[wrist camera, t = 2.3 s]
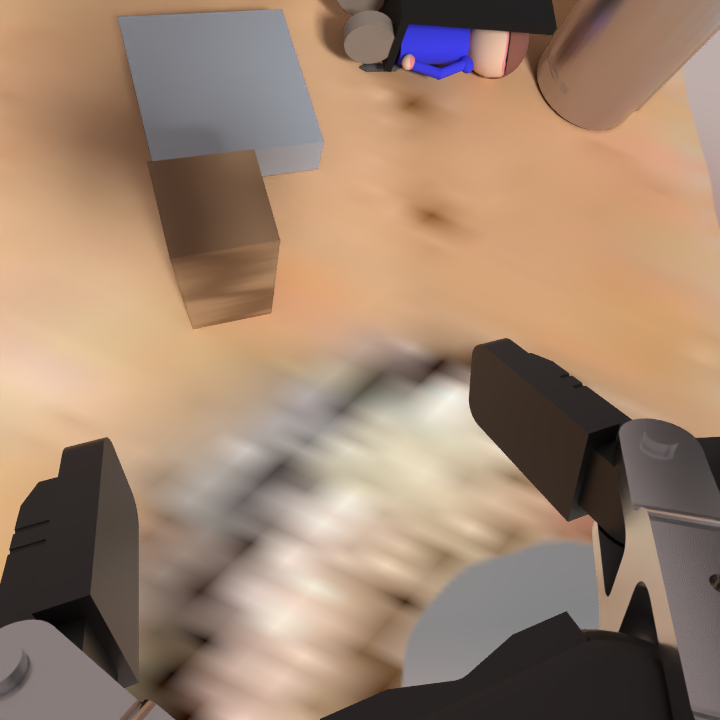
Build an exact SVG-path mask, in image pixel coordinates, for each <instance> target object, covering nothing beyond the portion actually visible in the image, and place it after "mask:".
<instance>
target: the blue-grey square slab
mask: <svg viewBox="0 0 720 720" xmlns="http://www.w3.org/2000/svg"><path fill="white" fill-rule="evenodd" d="M118 21H119V25H120V29H121V33H122V37H123V42H124V46H125V50H126V54H127V58H128V63H129V67H130V71H131V75H132V79H133V84H134V88H135V92H136V96H137V100H138V105H139V109H140V113H141V117H142V122H143V126H144V130H145V134H146V138H147V143H148V147H149V151H150V155H151V159H152V161H158V160H167V159H175V158H184V157H192V156H200V155H209V154H217V153H226V152H234V151H242V150H251V149H254V150H255V154H256V157H257V161H258V164H259V168H260V171H261V175H262V176H270V175H277V174H284V173H292V172H299V171H307V170H314V169H318V167H319V162H320V158H321V153H322V148H323V143H324V140H323V137H322V134H321V131H320V128H319V125H318V121H317V118H316V115H315V112H314V109H313V106H312V102H311V99H310V96H309V93H308V90H307V87H306V83H305V80H304V77H303V74H302V71H301V68H300V64H299V61H298V58H297V55H296V52H295V49H294V45H293V42H292V39H291V36H290V33H289V30H288V26H287V23H286V20H285V17H284V14H283V11H282V9H275V10H253V11H231V12H209V13H188V14H166V15H144V16H122V17H118Z"/></svg>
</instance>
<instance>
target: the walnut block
mask: <svg viewBox="0 0 720 720" xmlns="http://www.w3.org/2000/svg"><path fill="white" fill-rule="evenodd" d="M148 167H149V171H150V175H151V179H152V184H153V188H154V192H155V196H156V201H157V205H158V209H159V213H160V218H161V222H162V226H163V230H164V235H165V239H166V243H167V247H168V252H169V256H170V260H171V263H172V266H173V269H174V272H175V275H176V278H177V281H178V284H179V287H180V290H181V293H182V296H183V299H184V302H185V305H186V308H187V312H188V315H189V318H190V321H191V324H192V327H193V329H197V328H202V327H207V326H212V325H217V324H221V323H226V322H231V321H236V320H241V319H246V318H250V317H255V316H260V315H265V314H270V313H271V312H272V303H273V295H274V287H275V278H276V270H277V262H278V253H279V245H280V238H279V235H278V231H277V228H276V224H275V221H274V217H273V214H272V210H271V206H270V203H269V199H268V196H267V192H266V189H265V185H264V182H263V178H262V175H261V171H260V168H259V164H258V161H257V157H256V154H255V150H254V149H251V150H242V151H234V152H226V153H217V154H209V155H200V156H192V157H184V158H175V159H167V160H158V161H150V162H148Z"/></svg>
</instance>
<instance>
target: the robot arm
mask: <svg viewBox="0 0 720 720" xmlns="http://www.w3.org/2000/svg"><path fill="white" fill-rule="evenodd" d="M719 30H720V0H578V1H577V2H576V4H575V5H574V7H573V8H572V10H571V11H570V13H569V14H568V16H567V17H566V19H565V20H564V22H563V23H562V25H561V26H560V28H559V29H558V31H557V32H556V34H555V35H554V37H553V38H552V40H551V42H550V43H549V45H548V46H547V48H546V49H545V51H544V52H543V54H542V55H541V57H540V59H539V62H538V66H537V80H538V84H539V87H540V90H541V92H542V94H543V96H544V97H545V99H546V101H547V102H548V103H549V104H550V106H551V107H552V108H553V109H554V110H555V111H556V112H557V113H558V114H559V115H560V116H561V117H563V118H564V119H566V120H567V121H569V122H570V123H573V124H575V125H577V126H579V127H582V128H586V129H589V130H599V131H601V130H608V129H611V128H614V127H616V126H618V125H619V124H621V123H622V122H623V121H624V120H625V119H626V118H627V117H628V116H629V115H630V114H631V113H632V112H633V111H638V110H639V109H640V108H641V107H642V106H643V105H644V104H645V103H646V102H647V101H648V100H649V99H650V98H651V97H652V96H653V95H654V94H655V93H656V92H657V91H658V90H659V89H660V88H661V87H662V86H663V85H664V84H665V83H666V82H667V81H668V80H669V79H670V78H671V77H672V76H673V75H674V74H675V73H676V72H677V71H678V70H679V69H681V68H682V67H683V66H684V65H685V64H686V63H687V61H688V60H689V59H691V57H692V56H693V55H695V54H696V52H698V50H700V49H701V48H702V46H704V45H705V44H706V42H708V40H710V39H711V37H713V36H714V35H715V34H716V33H717V32H718V31H719ZM469 405H470V410H471V413H472V415H473V418H474V420H475V421H476V423H477V424H478V425H479V426H480V427H481V428H482V430H483V431H484V432H485V433H486V434H487V435H488V436H489V437H490V438H491V439H492V440H493V441H494V443H495V444H496V445H497V446H498V447H499V448H500V449H501V450H502V451H503V452H504V453H505V454H506V456H507V457H508V458H509V459H510V460H511V461H512V462H513V463H514V464H515V465H516V466H517V467H518V469H519V470H520V471H521V472H522V473H523V474H524V475H525V476H526V477H527V478H528V479H529V480H530V482H531V483H532V484H533V485H534V486H535V487H536V488H537V489H538V490H539V491H540V492H541V493H542V494H543V496H544V497H545V498H546V499H547V500H548V501H549V502H550V503H551V504H552V505H553V506H554V507H555V509H556V510H557V511H558V512H559V513H560V514H561V515H562V516H563V517H564V518H565V519H566V520H567V522H569V521H571V520H574V519H577V518H579V517H582V516H585V515H587V514H589V515H590V516H591V517H592V518H593V519H594V520H595V521H594V525H593V528H592V537H593V547H594V557H595V566H596V577H597V587H598V597H599V609H600V615H599V628H598V630H586V629H584V630H580V628H579V627H578V626H577V624H576V623H575V622H574V621H573V619H572V618H571V617H570V615H569V614H568V613H567V612H564V613H562V614H559V615H557V616H555V617H552V618H550V619H548V620H545V621H543V622H541V623H539V624H536V625H534V626H532V627H530V628H527V629H525V630H522V631H520V632H518V633H516V634H513V635H512V636H511V637H509V638H508V639H507V640H506V641H505V642H504V643H503V644H502V645H501V646H499V647H498V648H497V649H496V650H495V651H494V652H493V653H491V654H490V655H489V656H488V657H487V658H486V659H485V660H484V661H482V662H481V663H480V664H479V665H478V666H477V667H476V668H475V669H474V670H472V671H471V672H470V673H469V674H468V675H466V676H465V677H464V678H462V679H459V680H456V681H449V682H441V683H433V684H426V685H418V686H411V687H403V688H396V689H388V690H385V691H383V692H381V693H378V694H376V695H374V696H372V697H369V698H367V699H365V700H362V701H360V702H358V703H356V704H353V705H351V706H349V707H346V708H344V709H342V710H340V711H337V712H335V713H333V714H330V715H328V716H326V717H324V718H321V719H320V720H720V437H707V438H695V437H694V436H693V435H691V434H690V433H689V432H687V431H686V430H684V429H682V428H681V427H678V426H676V425H674V424H671V423H668V422H665V421H661V420H656V419H635V420H632V419H630V418H629V417H628V416H626V415H625V414H624V413H622V412H621V411H619V410H618V409H617V408H615V407H614V406H613V405H611V404H610V403H609V402H607V401H606V400H605V399H603V398H602V397H600V396H599V395H598V394H596V393H595V392H594V391H592V390H591V389H590V388H588V387H587V386H583V385H582V383H581V382H580V381H579V380H577V379H576V378H575V377H573V376H569V373H568V372H566V371H565V370H564V369H562V368H561V367H560V366H558V365H557V364H555V363H554V362H553V361H550V360H548V359H545V358H543V357H540V356H538V355H535V354H532V353H527V352H526V351H525V350H523V349H522V348H521V347H520V346H518V345H517V344H516V343H514V342H513V341H512V340H510V339H507V338H504V339H500V340H496V341H492V342H488V343H484V344H480V345H477V346H476V347H475V348H474V350H473V353H472V364H471V377H470V391H469ZM9 550H10V554H9V555H8V556H7V560H6V564H5V568H4V572H3V575H2V579H1V583H0V720H175V719H173V718H172V717H171V716H170V715H169V714H168V713H166V712H165V711H164V710H163V709H162V708H160V707H159V706H158V705H156V704H155V703H153V702H152V701H150V700H144V701H143V702H140V701H139V700H137V699H136V698H135V697H133V696H132V695H131V694H130V693H129V692H128V691H127V690H125V689H124V688H126V687H128V686H131V685H134V684H136V683H139V524H138V514H137V508H136V504H135V500H134V497H133V494H132V491H131V489H130V486H129V484H128V481H127V479H126V476H125V474H124V471H123V469H122V466H121V464H120V461H119V459H118V457H117V454H116V452H115V449H114V447H113V444H112V442H111V441H110V439H109V438H107V437H106V438H102V439H98V440H94V441H90V442H86V443H82V444H78V445H74V446H70V447H66V448H64V450H63V453H62V458H61V464H60V469H59V474H58V477H56V478H52V479H49V480H45V481H41V482H39V483H38V484H37V485H36V486H35V488H34V489H33V490H32V492H31V493H30V494H29V496H28V497H27V498H26V500H25V501H24V502H23V504H22V505H21V507H20V511H19V514H18V518H17V522H16V526H15V534H13V537H12V541H11V545H10V549H9Z"/></svg>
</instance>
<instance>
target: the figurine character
mask: <svg viewBox="0 0 720 720" xmlns="http://www.w3.org/2000/svg"><path fill="white" fill-rule="evenodd" d="M338 3H339V5H340V6H341V8H342V9H343V10H344V11H346V12H347V13H349V14H352V15H353V16H352V17H350V18H349V19H348V20H347V22H346V23H345V25H344V28H343V38H344V49H345V52H346V54H347V55H348V56H349V57H350V58H351V59H352V60H354V61H356V62H359V63H364V65H362V66H361V67H359V68H360V69H362V70H364V71H366V72H386V71H387V72H391V71H396V70H398V69H400V68H401V67H400V66H398V65H402V66H403V68H404V69H405V70H413V71H416V72H419V73H422V74H425V75H427V76H430V77H433V78H436V79H438V80H439V79H442V78H444V77H447V76H449V75H452V74H455V73H457V72H460V71H463V72H464V73H470V72H471V71H472V70H474V71H475V72H476V73H477V74H478V75H480V76H482V77H485V78H489V79H497V78H501V77H504V76H506V75H508V74H510V73H511V72H513V71H514V70H515V69H516V68H517V67H518V66H519V65H520V63H521V62H522V60H523V59H524V57H525V55H526V52H527V49H528V45H529V33H532V34H545V35H553V33H554V32H555V30H556V29H557V26H556V21H555V15H554V10H553V4H552V0H338ZM380 61H383V64H372V63H377V62H380ZM395 63H396V64H397V65H396V64H395ZM429 64H450V65H447V66H445V67H442V68H438V67H435V66H432V65H429Z"/></svg>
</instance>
